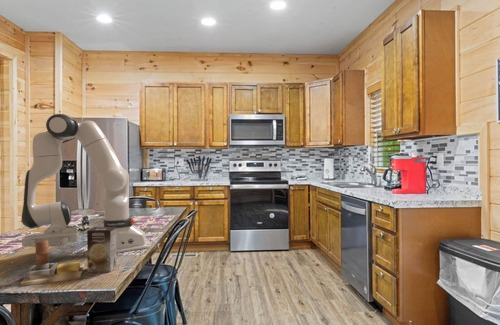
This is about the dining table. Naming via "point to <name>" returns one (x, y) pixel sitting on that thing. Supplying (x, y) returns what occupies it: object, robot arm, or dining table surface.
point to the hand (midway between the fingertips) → (48, 243)
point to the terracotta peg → (42, 255)
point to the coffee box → (101, 249)
